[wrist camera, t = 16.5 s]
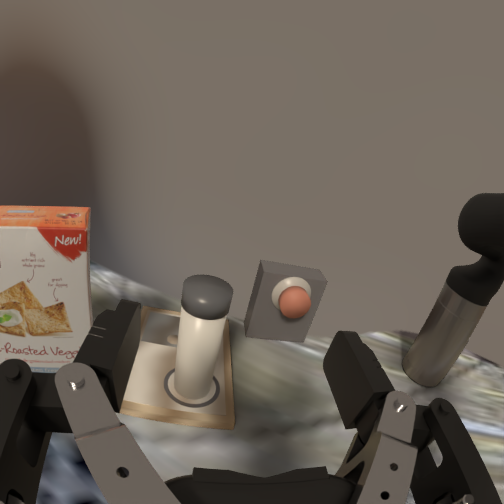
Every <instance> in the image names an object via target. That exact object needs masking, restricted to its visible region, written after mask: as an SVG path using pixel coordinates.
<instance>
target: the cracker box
mask: <svg viewBox="0 0 504 504" xmlns="http://www.w3.org/2000/svg"><path fill="white" fill-rule="evenodd" d="M90 212H91V208H89V207H56V206H51V207H50V206H0V364H1V363H2V362H4V361H6V360H8V359H21V360H23V361H25V362H26V363H27V364H28V365H29V366H30V368H31V371H32V372H41V373H56V372H57V371H58V370H59V369H60V368H61V367H62V366H63V365H66V364H69V363H72V362H73V361H74V359H75V357H76V355H77V353H78V351H79V349H80V347H81V345H82V343H83V342H84V340H85V338H86V336H87V334H88V332H89V330H90V329H91V327H92V326H93V315H92V303H91V286H90V253H89V252H90V251H89V250H90V245H89V244H90Z"/></svg>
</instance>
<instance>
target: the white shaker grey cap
mask: <svg viewBox="0 0 504 504" xmlns="http://www.w3.org/2000/svg"><path fill="white" fill-rule="evenodd" d="M232 295H233V289H232V287H231V286H230V285H229V283H227V282H226V281H224V280H222V279H220V278H218V277H214V276H210V275H194V276H191V277H188V278H187V279H186V280H185V281H184V283H183V291H182V299H181V305H182V307H181V315H180V324H179V333H178V343H177V353H176V363H175V375H174V388H175V390H176V392H177V393H178V394H179V395H181V396H182V397H184V398H187V399H191V400H197V399H202V398H204V397H206V396H207V395H208V394H209V392H210V388H211V384H212V379H213V375H214V370H215V366H216V361H217V357H218V352H219V348H220V343H221V339H222V334H223V330H224V325H225V321H226V317H227V314H228V312H229V308H230V304H231V300H232Z"/></svg>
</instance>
